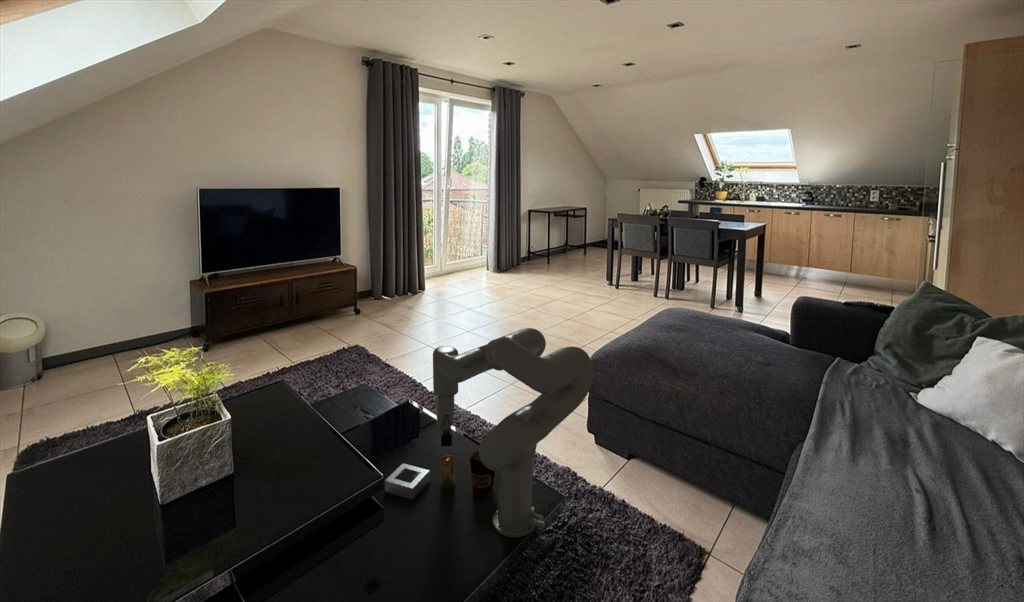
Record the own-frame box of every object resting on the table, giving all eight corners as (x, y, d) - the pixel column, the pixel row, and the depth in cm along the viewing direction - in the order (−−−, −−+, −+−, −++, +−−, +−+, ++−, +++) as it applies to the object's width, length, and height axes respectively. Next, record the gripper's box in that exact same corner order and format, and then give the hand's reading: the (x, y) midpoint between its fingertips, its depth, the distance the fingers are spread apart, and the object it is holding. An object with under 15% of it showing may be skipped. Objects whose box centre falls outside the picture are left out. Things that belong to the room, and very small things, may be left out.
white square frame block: (429, 481, 158) (429, 470, 157) (412, 499, 149) (412, 488, 148) (403, 473, 162) (403, 463, 161) (385, 491, 153) (384, 480, 152)
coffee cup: (492, 502, 149) (493, 464, 145) (466, 498, 150) (466, 461, 147) (499, 485, 157) (499, 449, 154) (474, 481, 159) (474, 445, 155)
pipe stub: (458, 481, 158) (458, 457, 156) (451, 490, 154) (450, 465, 151) (444, 477, 160) (444, 453, 158) (437, 486, 156) (436, 461, 153)
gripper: (433, 375, 156) (434, 423, 160) (433, 400, 139) (433, 453, 144) (457, 374, 157) (457, 422, 162) (459, 399, 140) (459, 452, 145)
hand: (446, 437), depth 153 cm, fingers open, 9 cm apart
